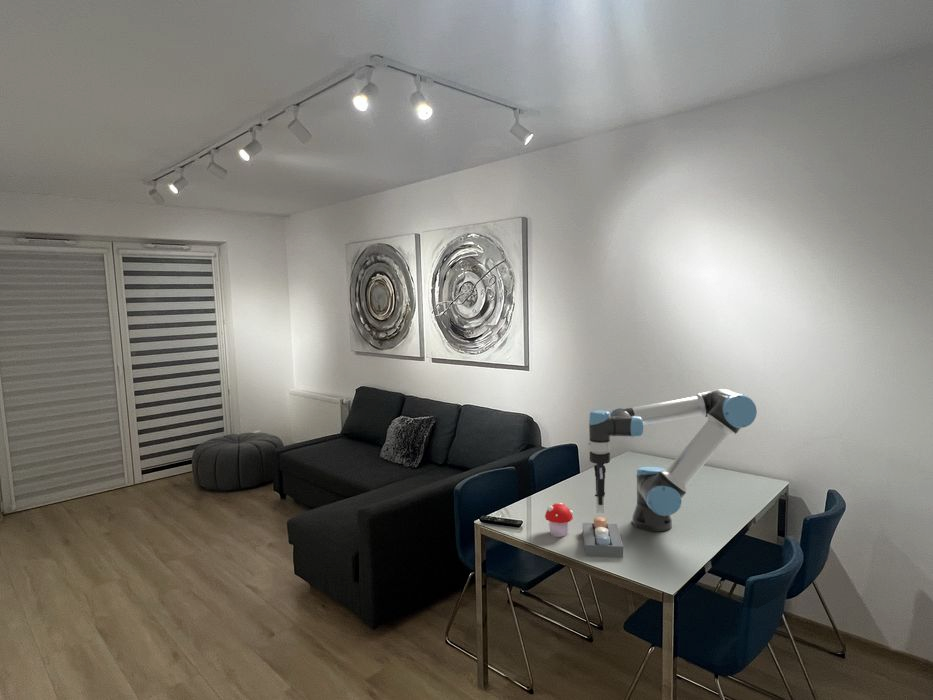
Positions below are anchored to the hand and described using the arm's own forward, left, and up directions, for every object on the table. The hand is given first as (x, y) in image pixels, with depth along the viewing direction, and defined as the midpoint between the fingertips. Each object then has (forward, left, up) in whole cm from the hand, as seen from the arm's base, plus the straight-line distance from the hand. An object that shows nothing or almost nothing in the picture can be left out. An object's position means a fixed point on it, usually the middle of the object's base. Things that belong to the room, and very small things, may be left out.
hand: (600, 511), depth 205 cm
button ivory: (0, +6, -9) cm, 11 cm away
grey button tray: (0, +6, -10) cm, 12 cm away
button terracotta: (0, 0, -8) cm, 8 cm away
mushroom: (+15, -2, -10) cm, 19 cm away
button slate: (0, +13, -9) cm, 16 cm away
